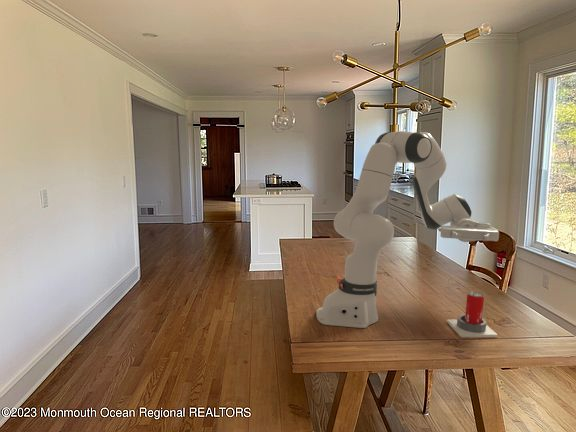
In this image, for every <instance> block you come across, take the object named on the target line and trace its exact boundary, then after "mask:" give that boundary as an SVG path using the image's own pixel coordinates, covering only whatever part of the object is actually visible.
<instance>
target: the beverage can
mask: <svg viewBox="0 0 576 432" xmlns="http://www.w3.org/2000/svg"><path fill="white" fill-rule="evenodd" d="M484 301H485V297H484V294H483V293H481V292H477V291H469V292H467V295H466V304H465V305H466V307H465V314H464V315H465V322H467V323H470V324H481V323H482V318H483V310H484Z"/></svg>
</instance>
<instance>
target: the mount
mask: <svg viewBox="0 0 576 432" xmlns="http://www.w3.org/2000/svg"><path fill="white" fill-rule="evenodd" d="M446 322H447V324H448V325H449V326H450V328H452V329H453V330H454V331H455V332H456V334H458V336H459V337H461V338H498V333H496V331H494V330H493V329H492V328H491V327H489V325H488V324H487V322H488V321H487V320H486V319H485V318H484V317H482V323H481V324H470V323H467V322H465V314H460V315H457V319H454V318H453V319H452V318H451V319H448V318H447V319H446Z"/></svg>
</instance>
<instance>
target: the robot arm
mask: <svg viewBox="0 0 576 432" xmlns="http://www.w3.org/2000/svg"><path fill="white" fill-rule="evenodd" d="M398 163H400V164H405V163H406V164H411V163H412V164H413V165H414V167H415V175H414V177H413V178H412V184H413V188H414V192H415V197H416V200H417V203H418V206H419V207H418V208H419V210H420V215H421V217H420V218H421V221H422V224H423V225H424V226H425V227H426V228H427V229H429V230H435V231H436V230H437V231H438V232H440V237H441V238H443V239H456V240H458V241H460V242H464V243H470V242H475V241H477V242H478V241H484V242H485V241H487V242H489V241H491V242H498V241H499V238H500V231H499V230H498V229H497V228H496V227H493V226H491V223H488V222H482V221H477V220H473V219H471V218H472V210H471V208H470V205H469V204H468V202H467V200H465V198H464V197H463V195H460V194H457V193H453V194H451V195H449V196H447V197H444V198H442V199H440V200H439V201H437V202H435V203H433V204H430V201H429V198H428V192H429V190H430V189H431V187H433V186H434V185H435V184H436V183H437V182H438V181H439V180H440V179H441V178H442V177H443V175H444V174H445V172H446V169H447V161H446V158H445V155H444V152H443V151H442V149H441V147H440V145H439V144H438V142H437V141H436V139H435V138H434V137H433V136H432V134H431V133H429V132H428V131H427V132H426V131H420V132H419V131H418V132H417V131H416V132H415V131H414V132H411V131H388V132H384V133H381V134H380V135H379V136H378V137H377V139H376V140H375V143H374V144H372V145H371V147H370V149H369V151H368V152H367V154H366V157H365V160H364V162H363V165H362V168H361V171H360V175H359V178H358V181H357V184H356V189H355V191H354V193H353V196H352V197H351V198H350V200H349V202H348V203H347V205H346V206H345V207H344V208H343V209H341V210H340V211H338V212H337V213H336V215H335V216H334V218H333V228H334V230H335V232H336V233H337V234H338V235H340V236H341V237H343V238H345V239H347V240H350V241H352V242H353V241H354V243H355V245H354V249H353V251H352V253H350V254H348V255H347V256H346V258H345V260H344V261H345V263H344V264H345V266H344V278H342V277H339V276H338V277H337V278H336V283H337V284H338V288H337V289H336V290H334V291H332V292H331V293H329V294H328V295H326V296H325V298H324V300H323V303H322V306H321V307H319V308H317V309H316V313H315V316H316V319H317V321H318V322H319V323H321V325H325V326H334V327H335V326H336V327H337V326H338V327H349V328H356V329H357V328H358V329H359V328H360V329H366V328H368V327H369V326H370V325H373V324H375V323H377V322H378V321H379V314H378V310H377V309H378V308H377V302H376V301H377V299H376V297H377V293H378V281H377V269H378V268H377V267H378V260H379V257H380V254H381V252H382V250H383V249H384V248H385V247H386V246H388V245H389V244H390V243H391V242H392V240H393V238H394V235H395V227H394V224H393V222H392V221H391V220H390V219H388V218H386V217H384V216H382V215H381V214H375V213H374V211H375V210H376V209H377V208H378V206H379V205H380V204H383V203H384V202H385V201H386V200H387V198H388V195H389V193H390V189H391V185H392V181H393V177H394V175H395V169H396V165H397V164H398ZM446 224H447V225H446ZM448 224H450V225H448Z"/></svg>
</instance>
